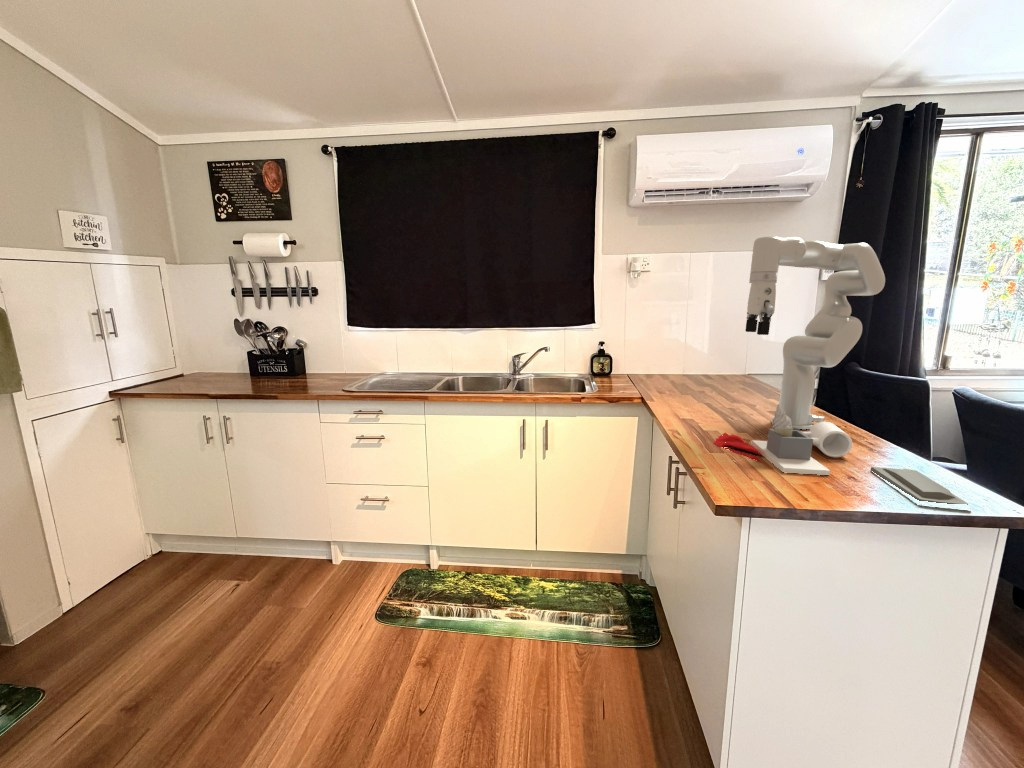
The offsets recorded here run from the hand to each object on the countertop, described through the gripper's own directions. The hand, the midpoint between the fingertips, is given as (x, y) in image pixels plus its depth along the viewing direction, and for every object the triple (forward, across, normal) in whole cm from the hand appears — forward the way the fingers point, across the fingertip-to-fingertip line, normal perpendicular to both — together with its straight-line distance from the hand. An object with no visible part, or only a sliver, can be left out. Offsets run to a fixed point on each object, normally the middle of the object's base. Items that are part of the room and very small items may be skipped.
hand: (756, 333), depth 142 cm
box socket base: (+33, -24, -3) cm, 41 cm away
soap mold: (+34, -40, -25) cm, 58 cm away
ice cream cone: (+32, -24, -3) cm, 40 cm away
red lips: (+34, -14, +7) cm, 38 cm away
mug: (+34, -15, -16) cm, 40 cm away
